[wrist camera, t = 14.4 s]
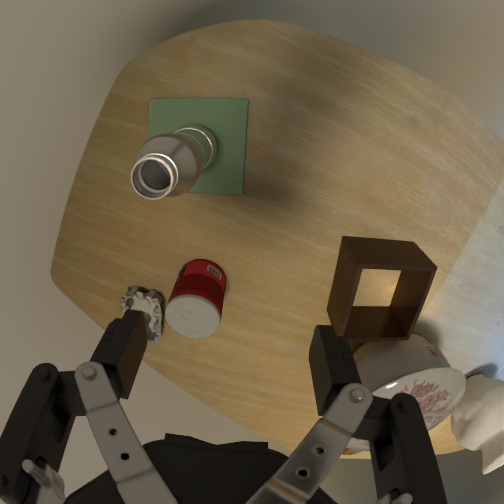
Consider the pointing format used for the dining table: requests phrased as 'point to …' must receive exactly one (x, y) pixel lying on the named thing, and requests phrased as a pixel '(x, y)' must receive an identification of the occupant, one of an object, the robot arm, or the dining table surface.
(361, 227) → the dining table surface
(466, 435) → the vase
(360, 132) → the dining table surface
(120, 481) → the robot arm
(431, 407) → the chamber pot
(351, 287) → the crate
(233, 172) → the mat
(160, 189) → the plastic bottle
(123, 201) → the dining table surface
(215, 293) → the canned food
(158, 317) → the egg carton
